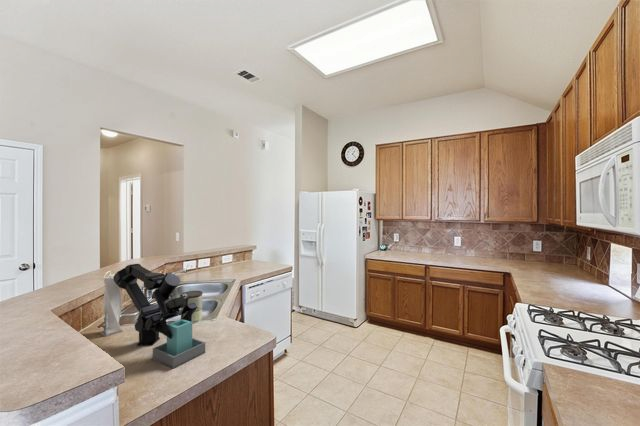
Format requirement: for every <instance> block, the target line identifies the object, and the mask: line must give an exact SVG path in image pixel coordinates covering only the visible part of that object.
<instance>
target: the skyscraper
mask: <svg viewBox="0 0 640 426" xmlns="http://www.w3.org/2000/svg"><path fill="white" fill-rule="evenodd" d="M108 273H109V275H108V276H107V274H108ZM115 274H116V273H115ZM115 274H112V271H111V270H109V271H107V272H106V273H104V275H103V283H104V287H105V288H104V289H105V290H104V294H103V302H102V303H103V304H102V305H103V315H104V317H103V319H104V324H103V325H104V326H103V330H101V331H99V332H98V333H99V335H102V336H103V337H109V336H111V335H116V334H118V333H119V334H120V333H122V332H123V331H124V330H122V328H121V325H120V320H121V319H120V318H121V314H122V307H123V306H122V305H123V297H122V296H123V295H122V294H123V293H122V291H121V290H122V288H120V287H118V286H117V284H116V283H115V282H114V275H115Z"/></svg>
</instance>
